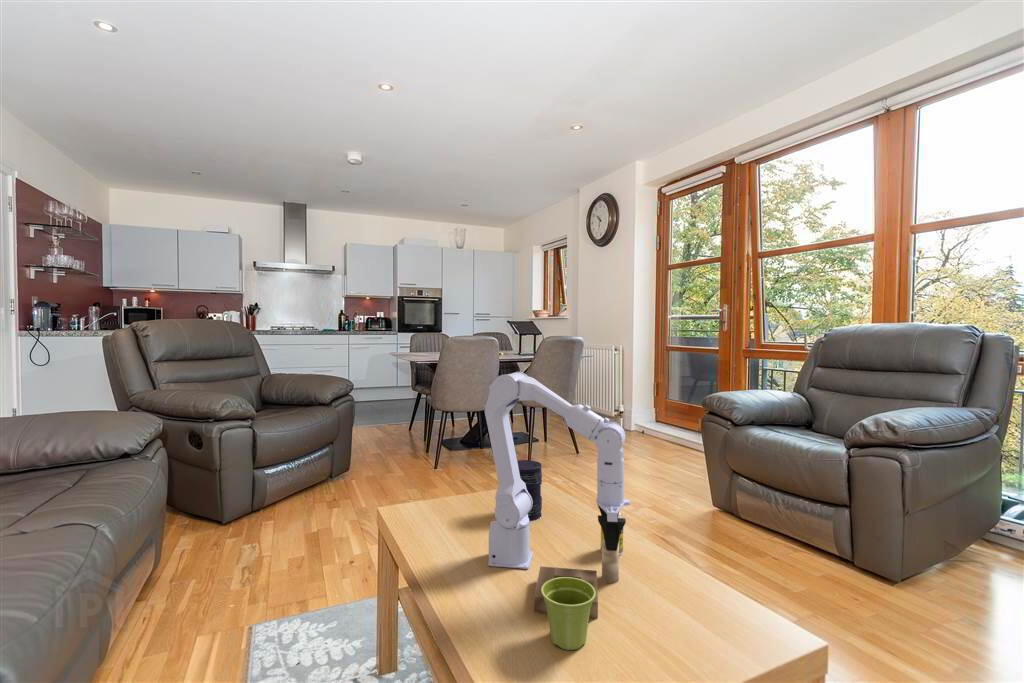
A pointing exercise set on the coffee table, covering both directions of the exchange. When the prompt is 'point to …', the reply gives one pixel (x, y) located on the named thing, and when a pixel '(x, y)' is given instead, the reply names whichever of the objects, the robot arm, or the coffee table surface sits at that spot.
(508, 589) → the coffee table surface
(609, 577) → the pin
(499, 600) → the coffee table surface
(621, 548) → the supplement bottle
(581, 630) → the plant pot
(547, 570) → the socket block
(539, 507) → the storage jar
